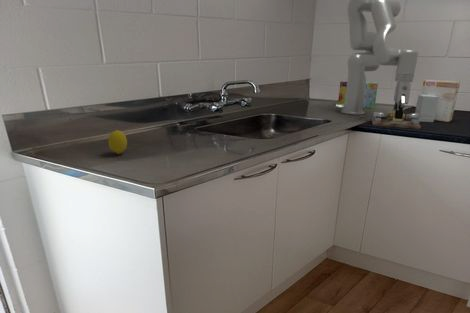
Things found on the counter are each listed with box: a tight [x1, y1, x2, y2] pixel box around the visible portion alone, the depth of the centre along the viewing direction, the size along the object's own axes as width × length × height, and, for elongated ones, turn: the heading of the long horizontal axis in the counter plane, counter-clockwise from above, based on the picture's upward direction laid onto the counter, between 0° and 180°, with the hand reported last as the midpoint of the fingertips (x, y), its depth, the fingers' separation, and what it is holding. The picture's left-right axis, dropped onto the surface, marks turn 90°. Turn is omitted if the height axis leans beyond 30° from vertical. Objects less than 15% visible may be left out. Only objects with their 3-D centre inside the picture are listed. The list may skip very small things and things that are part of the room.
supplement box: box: [414, 94, 439, 123], centre depth 170 cm, size 7×7×13 cm
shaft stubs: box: [372, 111, 421, 125], centre depth 160 cm, size 20×8×6 cm, turn 74°
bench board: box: [370, 118, 422, 130], centre depth 160 cm, size 20×10×1 cm, turn 74°
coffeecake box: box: [420, 78, 461, 123], centre depth 172 cm, size 15×7×20 cm, turn 48°
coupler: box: [388, 108, 406, 122], centre depth 159 cm, size 6×5×6 cm
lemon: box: [108, 129, 128, 155], centre depth 107 cm, size 6×6×8 cm
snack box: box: [337, 80, 379, 109], centre depth 205 cm, size 21×6×15 cm, turn 66°
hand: (397, 117), depth 159 cm, fingers open, 6 cm apart
